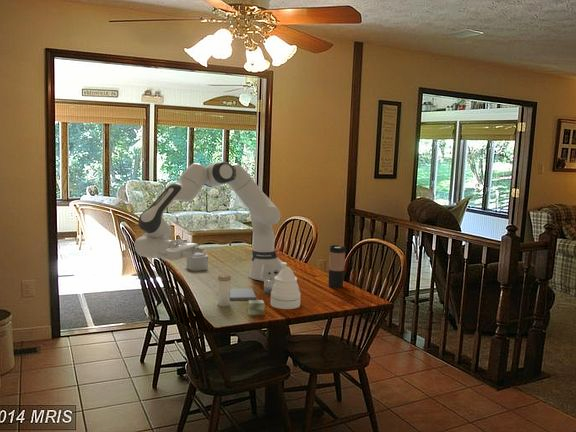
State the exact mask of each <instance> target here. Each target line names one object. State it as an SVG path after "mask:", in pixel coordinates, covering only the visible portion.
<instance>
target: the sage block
mask: <svg viewBox="0 0 576 432" xmlns="http://www.w3.org/2000/svg"><path fill="white" fill-rule="evenodd" d="M247 301H248V308H247V309H248V310H247V313H248V315H249V316H264V315H265V301H264V300H263V299H256V300H247Z"/></svg>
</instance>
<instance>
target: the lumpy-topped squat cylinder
mask: <svg viewBox="0 0 576 432" xmlns="http://www.w3.org/2000/svg"><path fill="white" fill-rule="evenodd" d="M208 261H209V255H208V254H207V253H206V252H205V251H204V252H203V253H199V252H196V253H194V257H186V269H188V270H190V271H194V272H195V271H205V270H208V268H209V263H208Z"/></svg>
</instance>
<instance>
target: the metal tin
mask: <svg viewBox="0 0 576 432" xmlns="http://www.w3.org/2000/svg"><path fill="white" fill-rule="evenodd" d="M275 281H276V280H274V279H272V278H268V279H264V281H263V293H264V294H265V295H271V291H272V290H273V287H274V284H275Z"/></svg>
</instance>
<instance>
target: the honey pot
mask: <svg viewBox="0 0 576 432" xmlns="http://www.w3.org/2000/svg"><path fill="white" fill-rule="evenodd" d="M281 266H282V267H284V268H283V269H282V270H281V271H280V273H279V275H278V276H275V277H274V280H276V281H275V284H274V287H273V290H272V291H271V294H270V306H272V308H276V309H278V310H279V309H281V310H293V309H297V308H300V307H301V295H302V294H301V293H302V292H301V291H300V287H299V284H298V282H297V281H298V277H296V276H295V273H294V272H293V269H292V268H291V267H289V266H287V262H284V261H282V262H281Z"/></svg>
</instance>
